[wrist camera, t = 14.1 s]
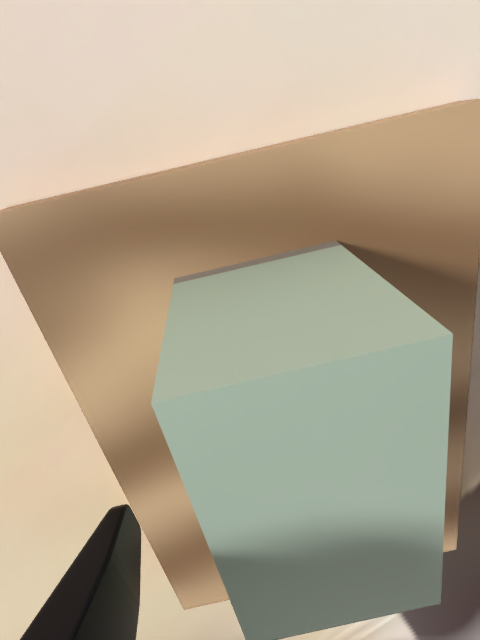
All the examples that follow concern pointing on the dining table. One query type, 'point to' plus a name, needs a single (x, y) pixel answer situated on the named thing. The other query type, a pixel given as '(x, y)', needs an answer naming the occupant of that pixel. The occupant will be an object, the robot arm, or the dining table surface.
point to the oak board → (236, 247)
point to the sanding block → (309, 437)
